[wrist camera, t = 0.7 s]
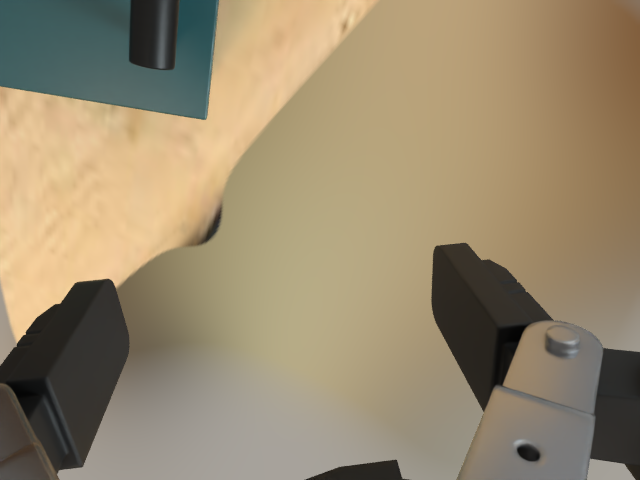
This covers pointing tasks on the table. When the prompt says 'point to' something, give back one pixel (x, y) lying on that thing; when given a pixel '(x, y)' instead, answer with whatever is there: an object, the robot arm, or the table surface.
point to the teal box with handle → (112, 51)
